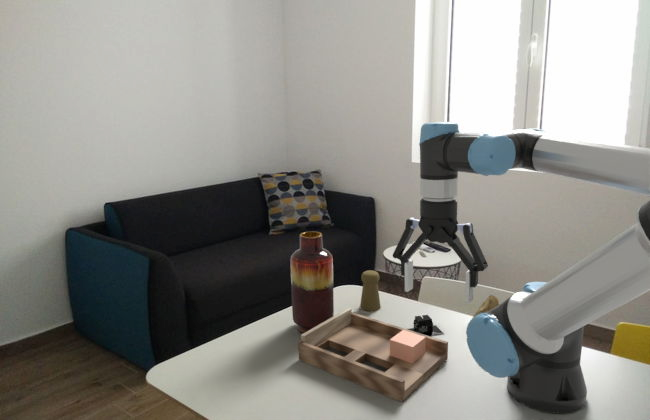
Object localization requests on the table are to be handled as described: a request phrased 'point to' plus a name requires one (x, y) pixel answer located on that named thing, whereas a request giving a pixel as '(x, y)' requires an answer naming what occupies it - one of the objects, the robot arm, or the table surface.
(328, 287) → the vase
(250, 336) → the table surface
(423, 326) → the black piece
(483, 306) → the rock
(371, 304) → the cork
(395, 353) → the block
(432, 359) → the box
